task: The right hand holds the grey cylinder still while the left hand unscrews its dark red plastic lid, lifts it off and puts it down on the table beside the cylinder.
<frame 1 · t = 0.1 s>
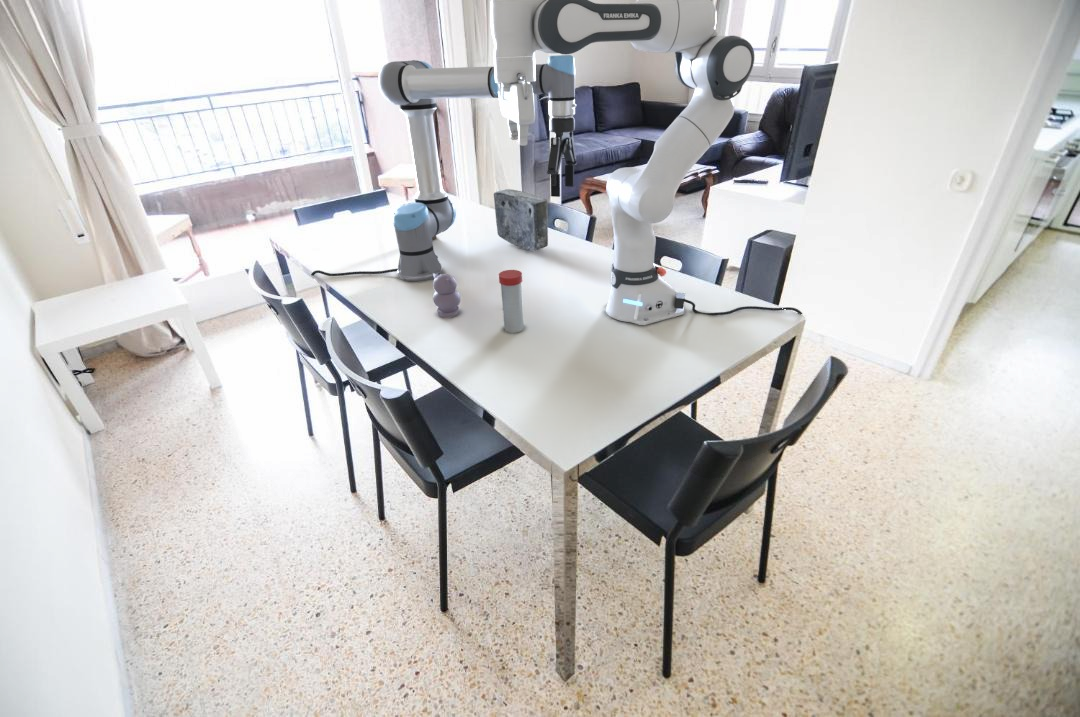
left hand: (562, 191, 156), 28 cm above the table, tool pointing down, fingers open, 13 cm apart
right hand: (518, 142, 114), 48 cm above the table, tool pointing down, fingers open, 8 cm apart
lid: (510, 275, 130), point 16 cm above the table, screwed on, not yet turned
grey cylinder: (514, 328, 139), on the table
seal figurine: (423, 241, 208), on the table
concrete block: (524, 247, 197), on the table
cat figurine: (449, 313, 148), on the table
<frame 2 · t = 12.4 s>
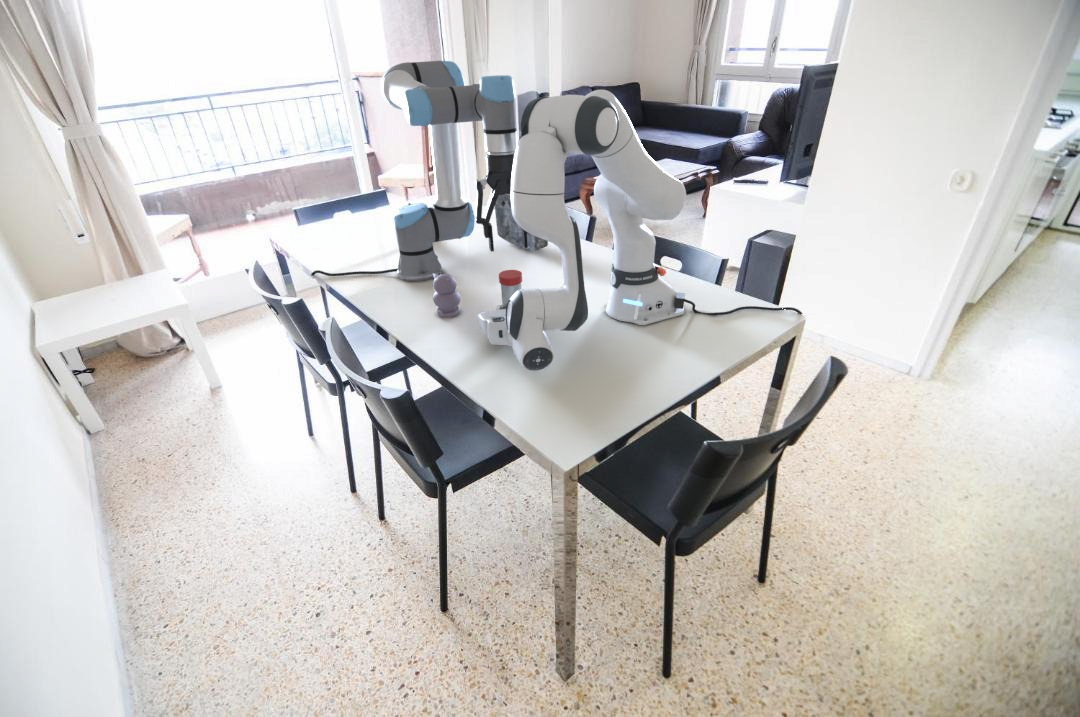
left hand: (508, 247, 126), 23 cm above the table, tool pointing down, fingers open, 8 cm apart
right hand: (511, 305, 136), 7 cm above the table, tool horizontal, fingers closed on grey cylinder, 5 cm apart
grey cylinder: (514, 328, 139), on the table, touching right hand
everything else where it was.
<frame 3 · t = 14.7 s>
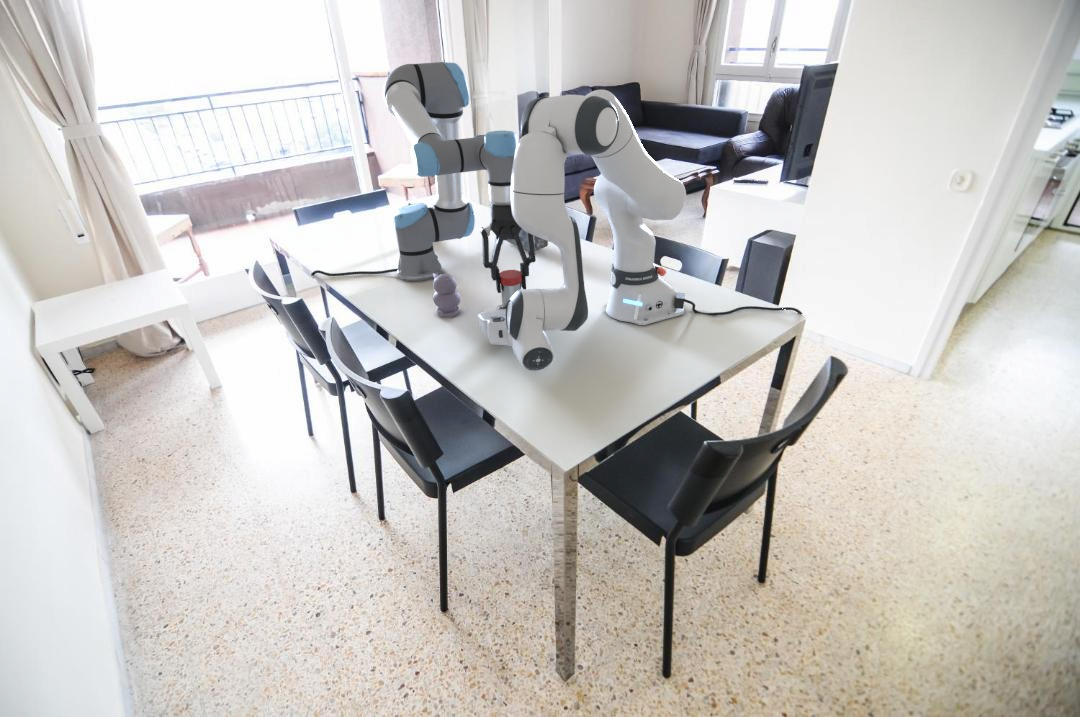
left hand: (511, 289, 132), 12 cm above the table, tool pointing down, fingers closed on lid, 6 cm apart
right hand: (511, 305, 136), 7 cm above the table, tool horizontal, fingers closed on grey cylinder, 5 cm apart
lid: (510, 275, 130), point 16 cm above the table, screwed on, not yet turned, touching left hand
grey cylinder: (514, 328, 139), on the table, touching right hand
everything else where it was.
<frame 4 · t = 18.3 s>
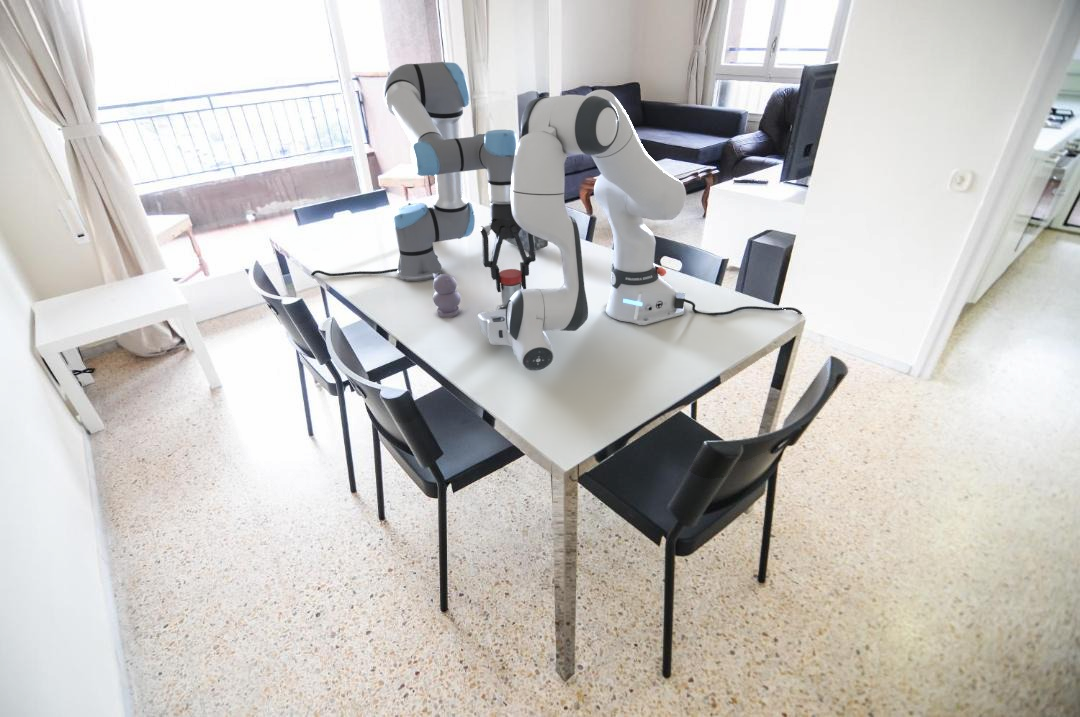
left hand: (511, 288, 132), 12 cm above the table, tool pointing down, fingers closed on lid, 6 cm apart
right hand: (511, 305, 136), 7 cm above the table, tool horizontal, fingers closed on grey cylinder, 5 cm apart
lid: (510, 274, 130), point 16 cm above the table, turned 133° so far, risen 0.2 cm, still on its thread, touching left hand
grey cylinder: (514, 328, 139), on the table, touching right hand
everything else where it was.
when the left hand's fingers open (0 cm above the table, at t = 33.1 s): lid drops 2 cm, point 2 cm above the table.
when the right hand's fingers open (7 cm above the table, at t = 34.3 s): grey cylinder stays where it is, on the table.
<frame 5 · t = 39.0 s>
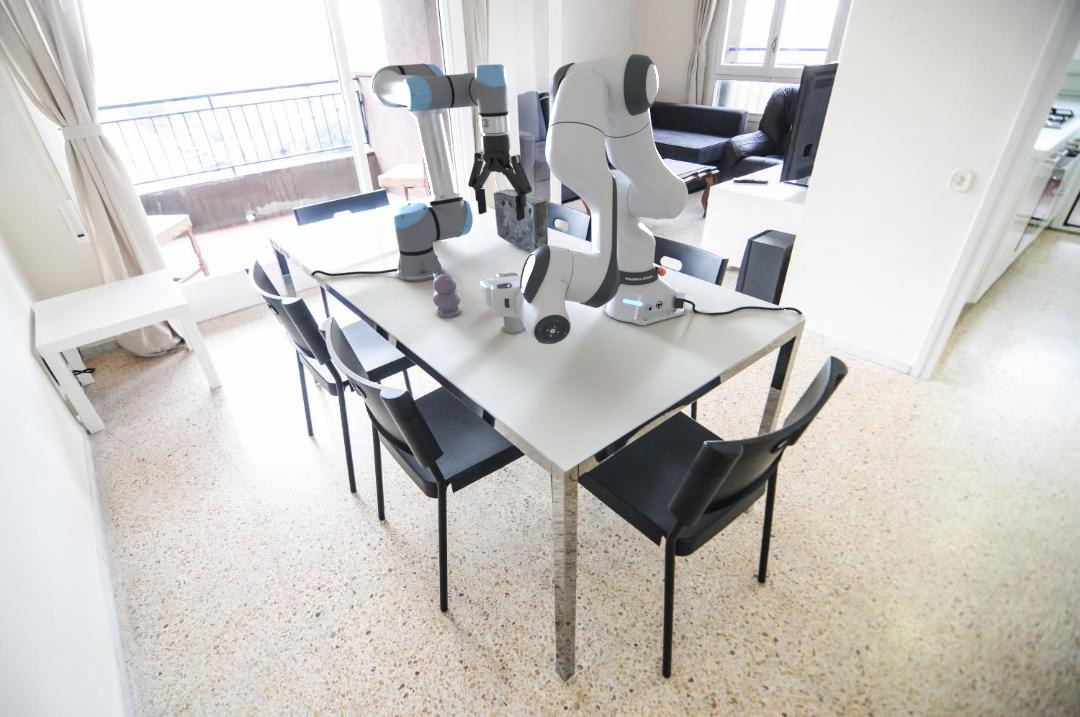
left hand: (501, 216, 139), 27 cm above the table, tool pointing down, fingers open, 13 cm apart
right hand: (519, 274, 117), 21 cm above the table, tool horizontal, fingers open, 8 cm apart
lid: (508, 298, 152), point 2 cm above the table, off its thread
grey cylinder: (514, 328, 139), on the table
everything else where it was.
at the end: lid came off its thread; lid point 1.7 cm above the table; the left hand is holding nothing; the right hand is holding nothing; grey cylinder tilted 0°; grey cylinder moved 0.0 cm from its start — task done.
